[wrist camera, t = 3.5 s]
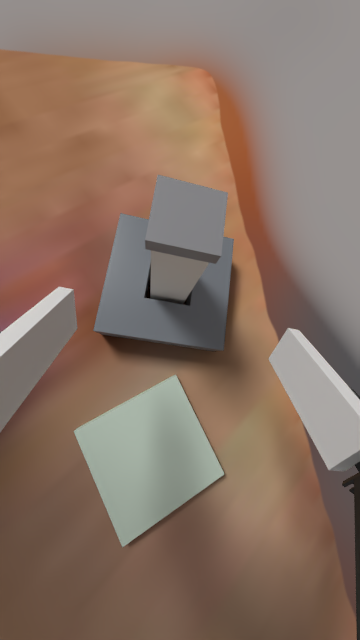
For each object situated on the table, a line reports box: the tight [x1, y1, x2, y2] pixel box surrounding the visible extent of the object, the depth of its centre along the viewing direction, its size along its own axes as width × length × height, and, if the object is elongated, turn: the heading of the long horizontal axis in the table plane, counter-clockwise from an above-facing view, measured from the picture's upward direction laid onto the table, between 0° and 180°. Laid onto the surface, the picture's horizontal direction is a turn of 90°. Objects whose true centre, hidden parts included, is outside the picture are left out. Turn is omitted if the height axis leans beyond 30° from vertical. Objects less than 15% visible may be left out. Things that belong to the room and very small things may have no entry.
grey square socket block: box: [93, 213, 234, 351], centre depth 24 cm, size 14×14×4 cm
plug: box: [145, 175, 228, 304], centre depth 19 cm, size 5×5×14 cm
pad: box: [74, 375, 224, 547], centre depth 21 cm, size 12×12×1 cm
